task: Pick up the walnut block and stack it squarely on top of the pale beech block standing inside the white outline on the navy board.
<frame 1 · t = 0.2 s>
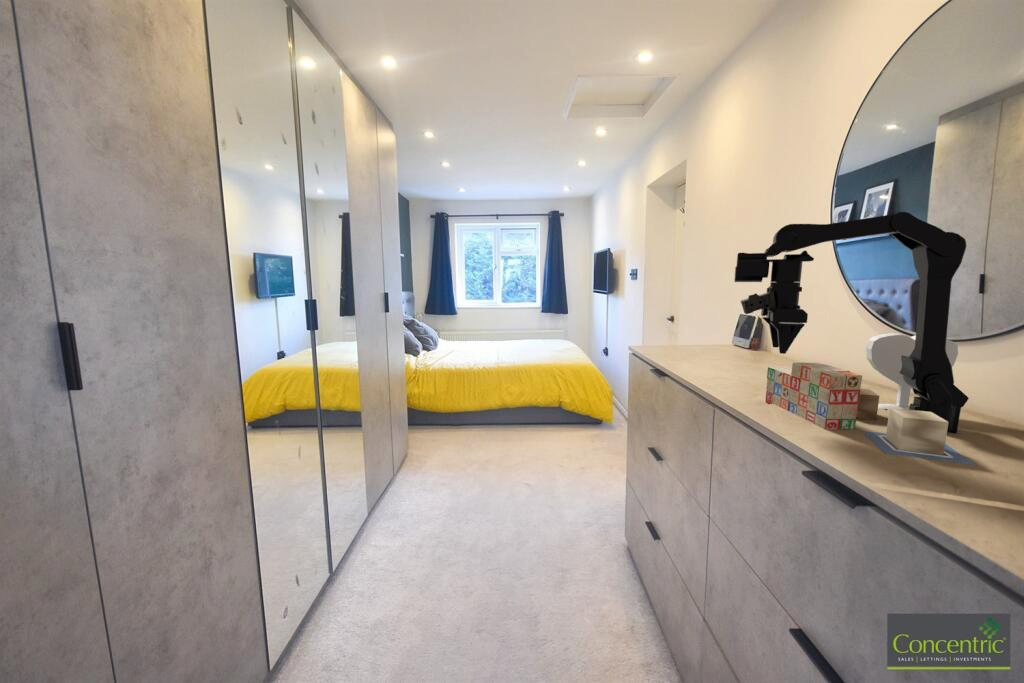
hand: (778, 350, 97), 15 cm above the dresser, tool pointing down, fingers open, 9 cm apart
heart sculpture: (901, 409, 101), on the dresser
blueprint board: (912, 449, 77), on the dresser
beech block: (912, 446, 77), point 1 cm above the dresser, touching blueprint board
stack of blocks: (804, 416, 96), on the dresser
walnut block: (854, 416, 95), on the dresser
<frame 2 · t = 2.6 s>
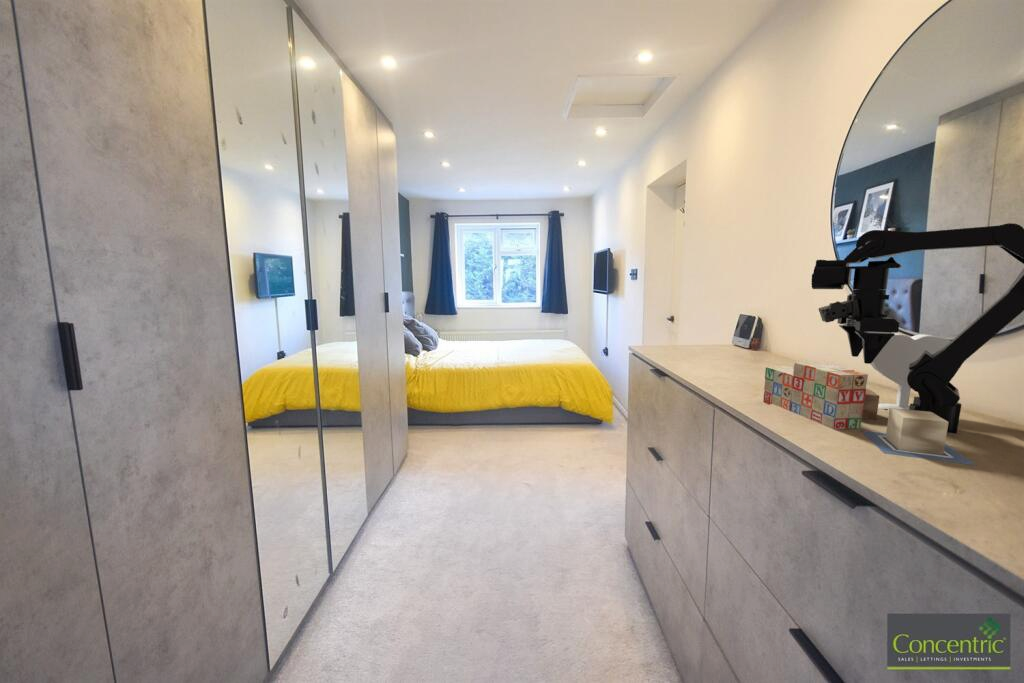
hand: (860, 359, 94), 13 cm above the dresser, tool pointing down, fingers open, 9 cm apart
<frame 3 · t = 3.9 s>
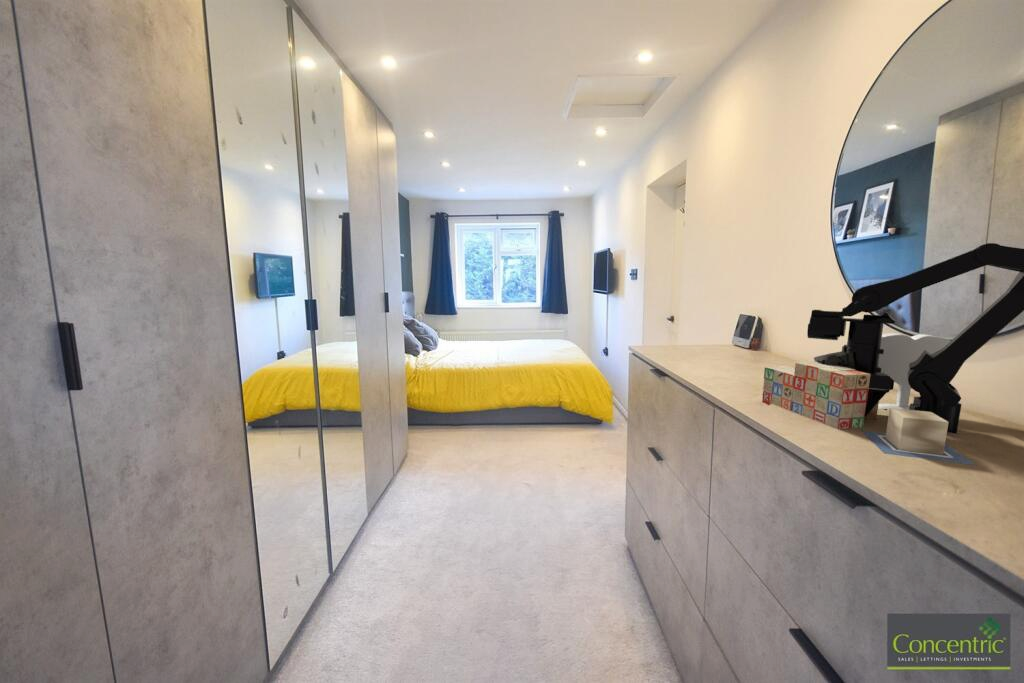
hand: (855, 410, 95), 1 cm above the dresser, tool pointing down, fingers open, 9 cm apart
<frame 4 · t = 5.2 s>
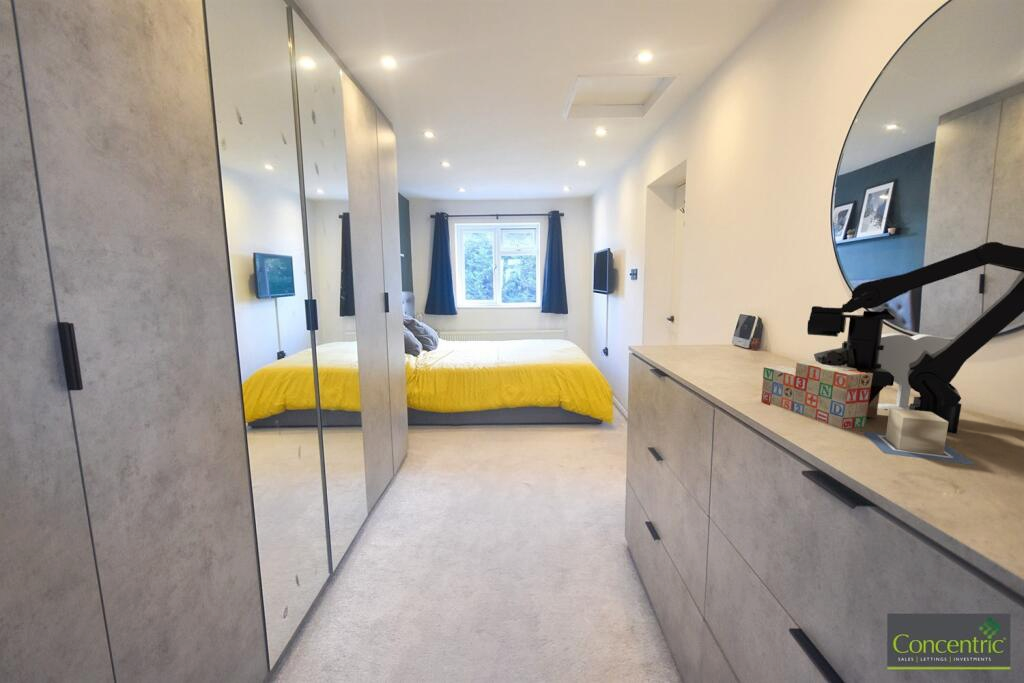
hand: (855, 406, 95), 2 cm above the dresser, tool pointing down, fingers closed on walnut block, 6 cm apart
stack of blocks: (807, 415, 97), on the dresser, touching gripper
walnut block: (854, 412, 95), point 1 cm above the dresser, touching gripper
everything else where it was.
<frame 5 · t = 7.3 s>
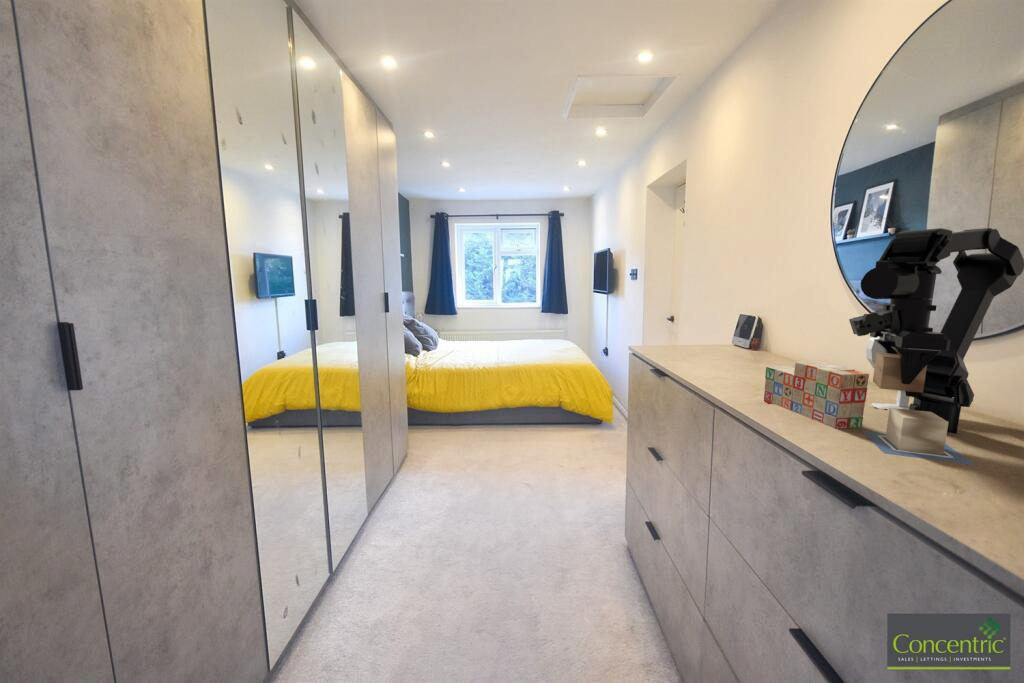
hand: (899, 380, 80), 12 cm above the dresser, tool pointing down, fingers closed on walnut block, 6 cm apart
stack of blocks: (807, 415, 97), on the dresser
walnut block: (896, 386, 81), point 10 cm above the dresser, touching gripper
everything else where it was.
when the fingers open (9 cm above the dresser, at t = 9.3 s): walnut block stays where it is, resting on beech block.
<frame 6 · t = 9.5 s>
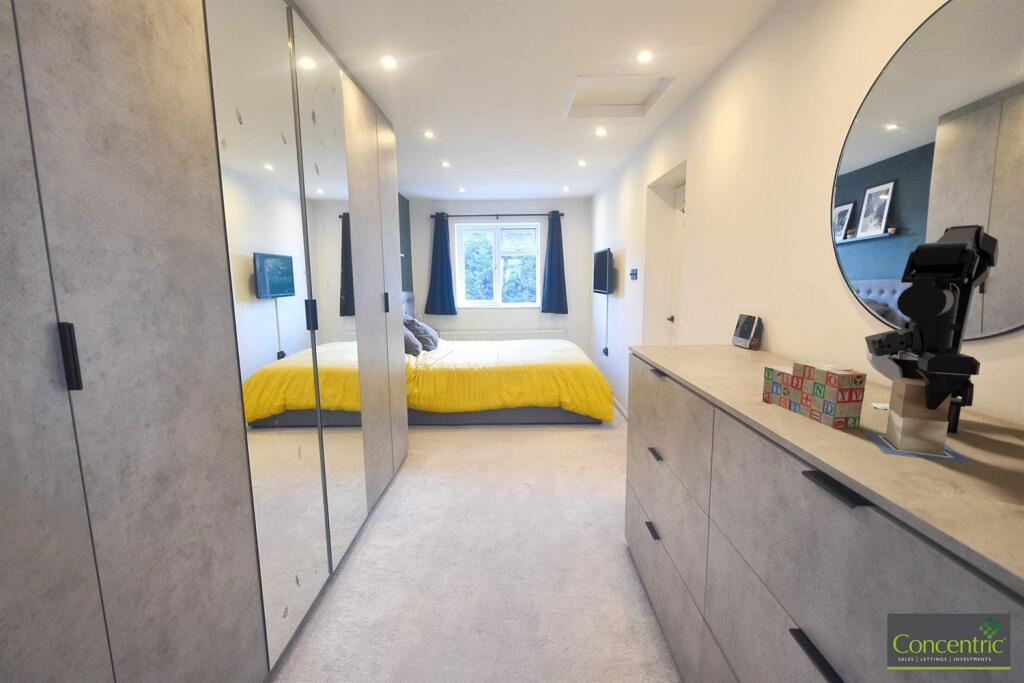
hand: (919, 402, 75), 9 cm above the dresser, tool pointing down, fingers open, 8 cm apart
beech block: (912, 446, 77), point 1 cm above the dresser, touching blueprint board, walnut block
walnut block: (916, 414, 76), point 7 cm above the dresser, touching beech block
everything else where it was.
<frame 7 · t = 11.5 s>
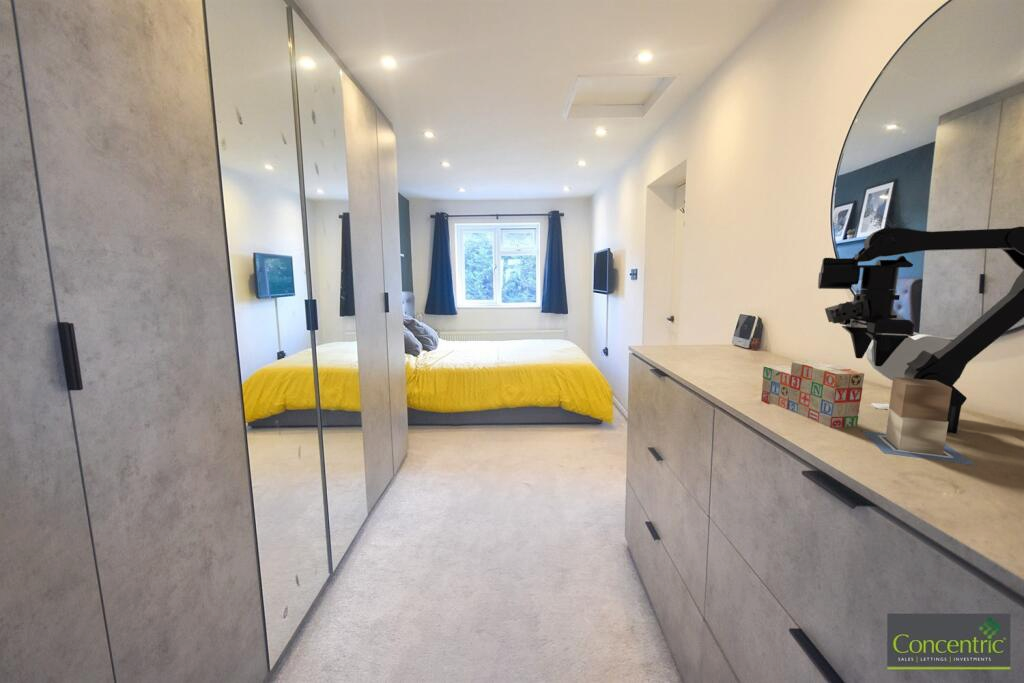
hand: (867, 362, 91), 13 cm above the dresser, tool pointing down, fingers open, 9 cm apart
nothing on the dresser moved.
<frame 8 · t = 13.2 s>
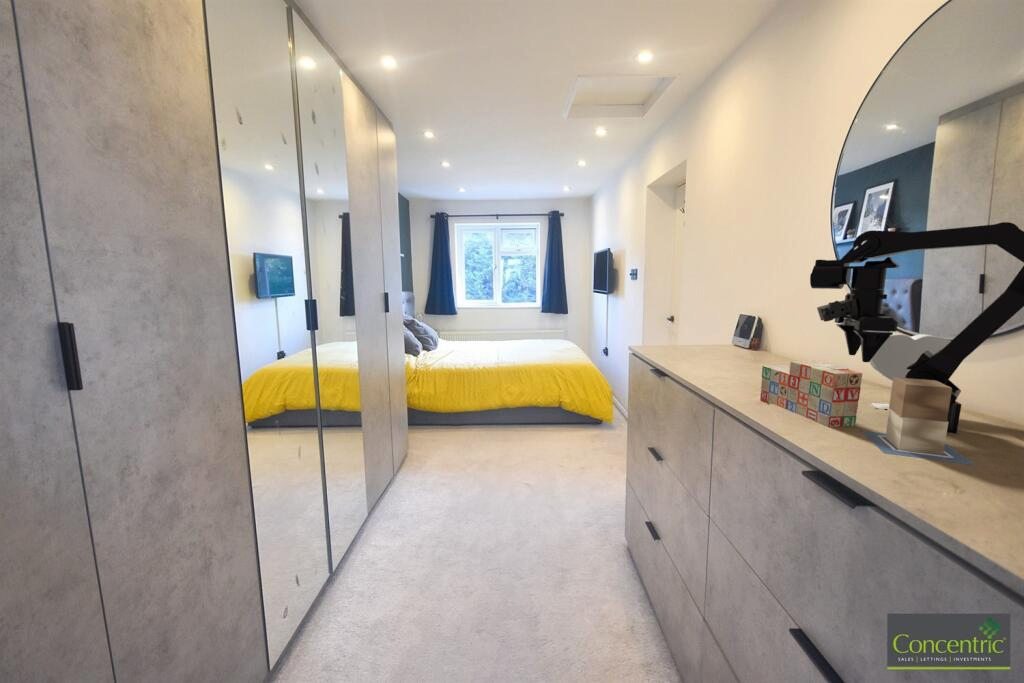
hand: (858, 358, 95), 13 cm above the dresser, tool pointing down, fingers open, 9 cm apart
at the end: walnut block 0.2 cm off-centre on the beech block, point 6.0 cm above the beech block's base; walnut block tilted 0°; beech block moved 0.0 cm from its start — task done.
